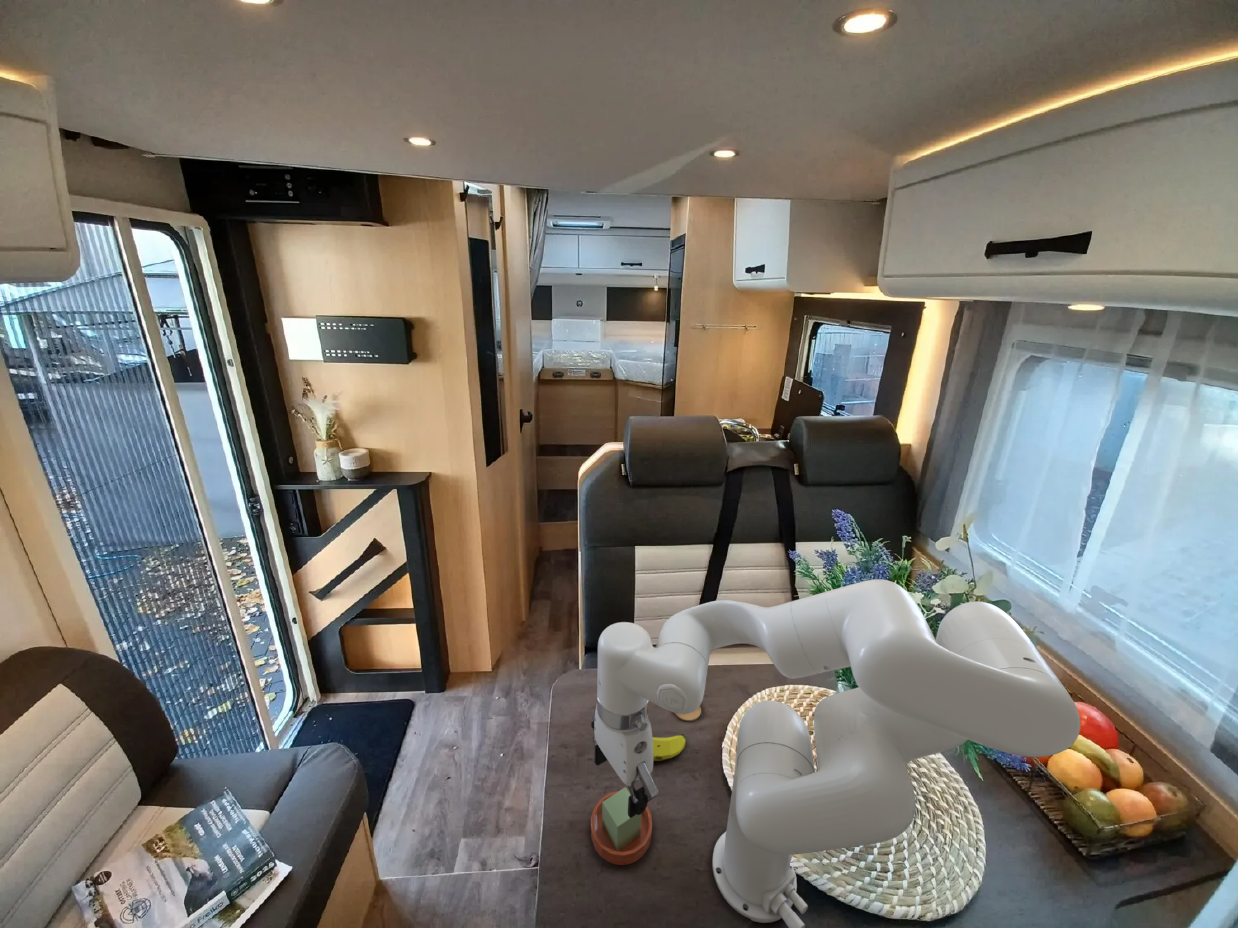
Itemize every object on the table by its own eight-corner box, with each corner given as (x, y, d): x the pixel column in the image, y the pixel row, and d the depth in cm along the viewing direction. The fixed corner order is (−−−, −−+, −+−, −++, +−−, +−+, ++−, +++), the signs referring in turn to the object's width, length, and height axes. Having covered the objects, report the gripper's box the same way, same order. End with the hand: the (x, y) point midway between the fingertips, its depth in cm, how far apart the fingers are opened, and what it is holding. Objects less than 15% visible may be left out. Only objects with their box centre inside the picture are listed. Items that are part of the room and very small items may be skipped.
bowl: (663, 842, 79) (664, 830, 78) (611, 881, 74) (611, 869, 72) (629, 791, 87) (629, 779, 86) (579, 823, 81) (579, 811, 80)
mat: (706, 712, 103) (707, 711, 102) (685, 725, 99) (685, 724, 99) (688, 693, 107) (688, 692, 107) (667, 705, 104) (667, 704, 104)
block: (640, 834, 79) (641, 810, 77) (617, 851, 77) (617, 826, 75) (625, 810, 83) (625, 786, 81) (602, 826, 80) (602, 801, 78)
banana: (690, 750, 90) (681, 695, 104) (598, 743, 90) (601, 689, 104) (688, 770, 91) (679, 713, 105) (596, 764, 90) (600, 708, 105)
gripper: (681, 735, 65) (672, 819, 71) (612, 656, 79) (610, 732, 85) (635, 763, 61) (630, 849, 67) (571, 674, 75) (572, 753, 81)
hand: (619, 784), depth 76 cm, fingers open, 9 cm apart
